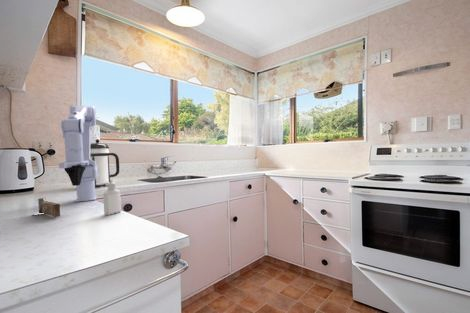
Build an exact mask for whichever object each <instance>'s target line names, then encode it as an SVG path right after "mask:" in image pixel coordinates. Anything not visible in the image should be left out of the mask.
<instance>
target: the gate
mask: <svg viewBox="0 0 470 313" xmlns="http://www.w3.org/2000/svg"><path fill="white" fill-rule="evenodd" d="M41 204H42V213H44V214H46V215H48V216H51V217H53V218H57V217H58V218H59V217H61V205H60V204H59V203H56V202H53V201H48V200H45V201H43V202H41Z"/></svg>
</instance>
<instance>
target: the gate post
mask: <svg viewBox="0 0 470 313" xmlns="http://www.w3.org/2000/svg"><path fill="white" fill-rule="evenodd" d="M37 201H38V212H39V213H42V204H41V202H43V201H46V197H41V198H38V199H37Z"/></svg>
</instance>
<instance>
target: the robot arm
mask: <svg viewBox="0 0 470 313" xmlns="http://www.w3.org/2000/svg"><path fill="white" fill-rule="evenodd" d="M96 114H97V110H96V107H95V106H94V105H70V107H69V114H68V116H67V118H64V120H61V124H60V125H61V131H62V132H61V133H62V137H63V139H64V152H65V153H64V154H65V155H64V156H65V161H63V162H58V169H64V171H65V172H66V174H67V176H68V177H69V180H70V182H71V185H72V187H73V186H74V187H76V199H75V201H74V202H75V203H77V202H88V201H96V199H97V198H98V195H96V188H95V181H94V180H95V179H96V178H97V177H98V169H97V164H96V162H95V161H93V160H91V159H90V144H91V132H92V128H93V127H94V126H96V123H97V121H96V120H97V119H96V118H97V117H96V116H97V115H96Z"/></svg>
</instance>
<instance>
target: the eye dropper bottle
mask: <svg viewBox="0 0 470 313" xmlns="http://www.w3.org/2000/svg"><path fill="white" fill-rule="evenodd" d="M102 195H103V197H102V198H103V212H104V213H103V214H104V215H105V214H106V216H111V215H110V214H112V215H115V214H114V213H116V214H119V213H121V212H122V200H121V195H122V194H121V190H120V189H117V188H116V182H114V181H113V179H111V178H110V182H109V183H108V184H107V190H106V191H104V192H103V194H102ZM120 211H121V212H120ZM118 212H119V213H118Z"/></svg>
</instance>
